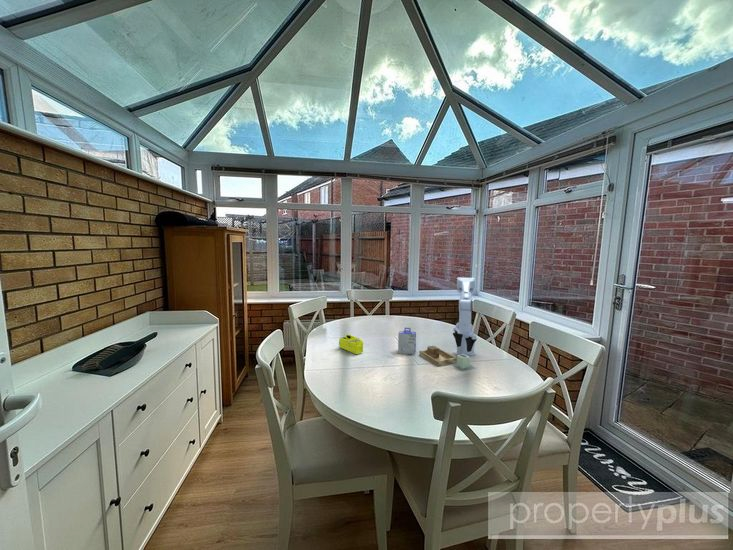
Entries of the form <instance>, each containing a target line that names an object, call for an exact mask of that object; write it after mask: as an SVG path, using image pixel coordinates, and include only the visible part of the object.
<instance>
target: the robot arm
mask: <svg viewBox="0 0 733 550" xmlns="http://www.w3.org/2000/svg"><path fill="white" fill-rule="evenodd" d="M456 289H457V292H458V293H460V294H459V300H458V311H459V312H458V313H459V316H458V317H459V318H458V322H457V323H456V324H455V327H453V332H452V335H453V337H454V340H455V343H456V350H453V353H455V354H456V355H461V354H465V355H467V356H474V355H476V353H475V343H476V341H477V334H475V333H474V326H473V324H472V311H473V307H474V305H473V304H474V303H473V299H472V297H473V296H472V294H473V293H474V291H475V289H476V278H475V277H459V276H458V277H457V278H456Z"/></svg>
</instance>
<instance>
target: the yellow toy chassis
mask: <svg viewBox="0 0 733 550" xmlns="http://www.w3.org/2000/svg"><path fill="white" fill-rule="evenodd" d="M338 341H339V343H338V345H339V346H338V347H339V349H340V348H341V349H343V350H345V351H348V353H352V354H355V355H358V354H359V355H360V354H362V353H364V341H363V340H362V339H361V338H360V337H358V336H357V337H356V336H354V335H351V334H348V333H347V334H345V336H344V337H341V338H339V340H338Z"/></svg>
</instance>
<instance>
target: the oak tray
mask: <svg viewBox="0 0 733 550" xmlns="http://www.w3.org/2000/svg"><path fill="white" fill-rule="evenodd" d="M418 353H419V354H418V355H419V356H420V357H421V358H424V359H425V360H427V361H428V362H429V363H431V364H432V365H434V366H436V367H441V366H446V365H450V364H455V363H457V356H454V355H452V354H450V353H449V352H447V351H445V350H443V349H441V348H439V357H437V358H432V357H430V356H429V355H427V349H423V350H419V352H418Z"/></svg>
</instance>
